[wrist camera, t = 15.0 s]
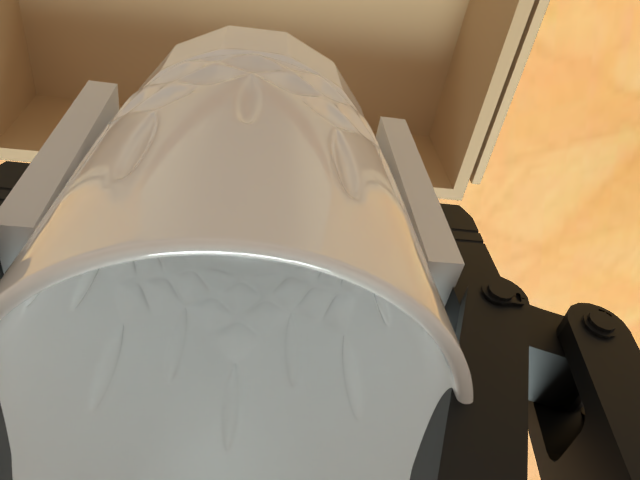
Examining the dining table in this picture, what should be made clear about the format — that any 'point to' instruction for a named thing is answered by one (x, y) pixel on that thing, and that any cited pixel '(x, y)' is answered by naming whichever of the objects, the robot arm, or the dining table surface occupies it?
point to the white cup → (226, 287)
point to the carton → (307, 26)
